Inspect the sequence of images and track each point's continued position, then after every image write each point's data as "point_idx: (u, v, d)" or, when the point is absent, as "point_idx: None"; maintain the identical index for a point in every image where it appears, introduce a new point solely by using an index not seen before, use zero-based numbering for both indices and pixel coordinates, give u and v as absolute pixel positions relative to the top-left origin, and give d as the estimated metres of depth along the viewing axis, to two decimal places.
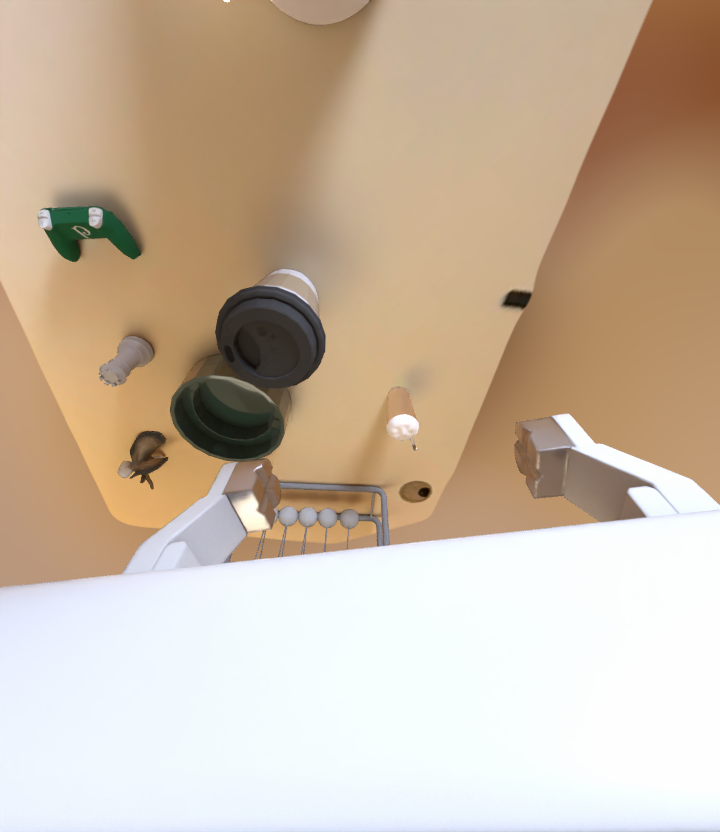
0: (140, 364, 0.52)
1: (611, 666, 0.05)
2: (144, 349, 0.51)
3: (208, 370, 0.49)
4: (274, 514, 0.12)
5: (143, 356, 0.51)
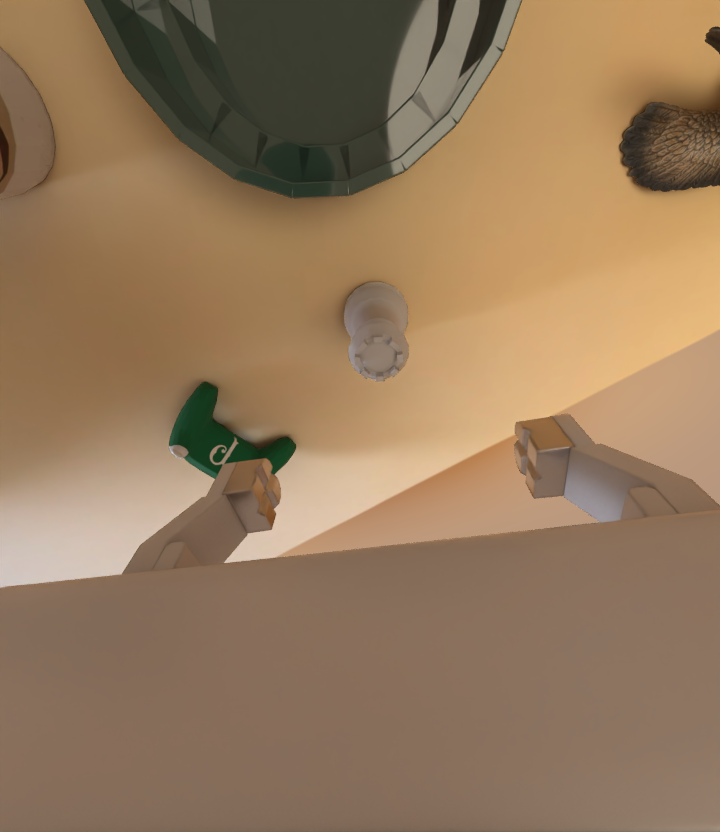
0: (377, 301, 0.23)
1: (610, 665, 0.05)
2: (348, 308, 0.24)
3: None
4: (274, 514, 0.12)
5: (358, 304, 0.23)
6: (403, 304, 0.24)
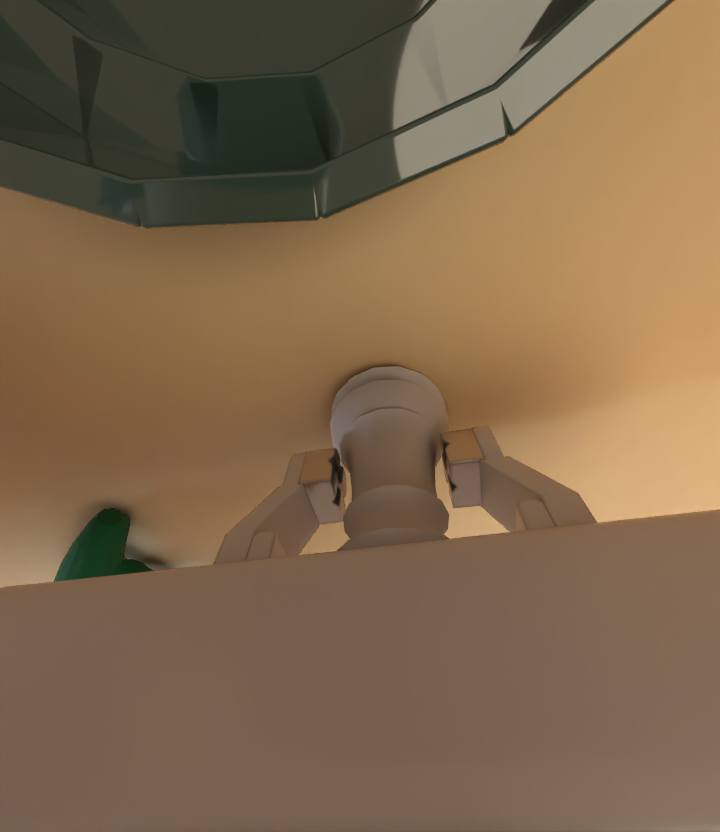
0: (393, 416, 0.11)
1: (610, 664, 0.05)
2: (336, 417, 0.13)
3: None
4: (344, 505, 0.12)
5: (356, 415, 0.12)
6: (442, 412, 0.12)
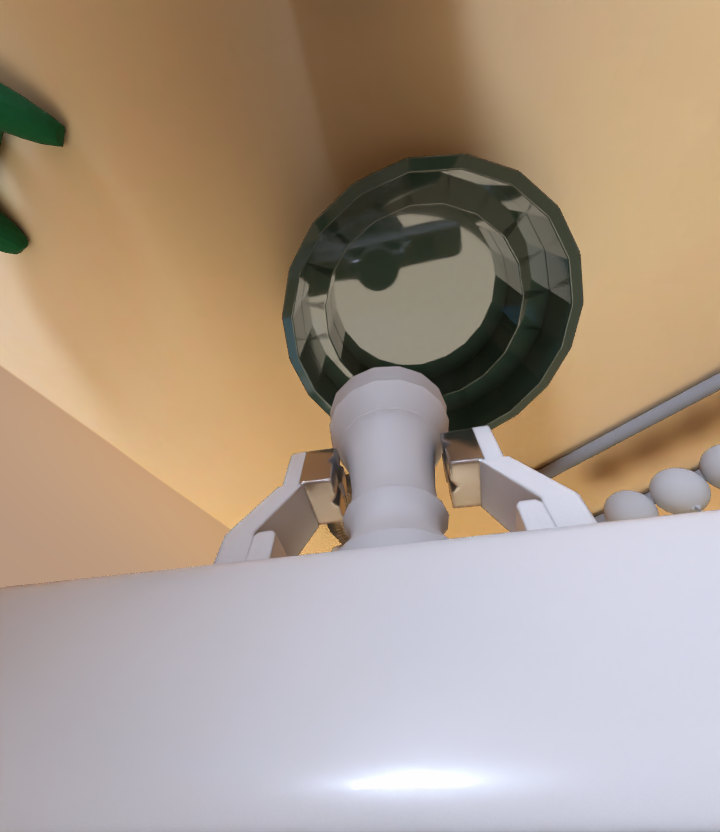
0: (392, 416, 0.11)
1: (611, 665, 0.05)
2: (336, 417, 0.13)
3: None
4: (344, 505, 0.12)
5: (355, 415, 0.12)
6: (442, 412, 0.12)
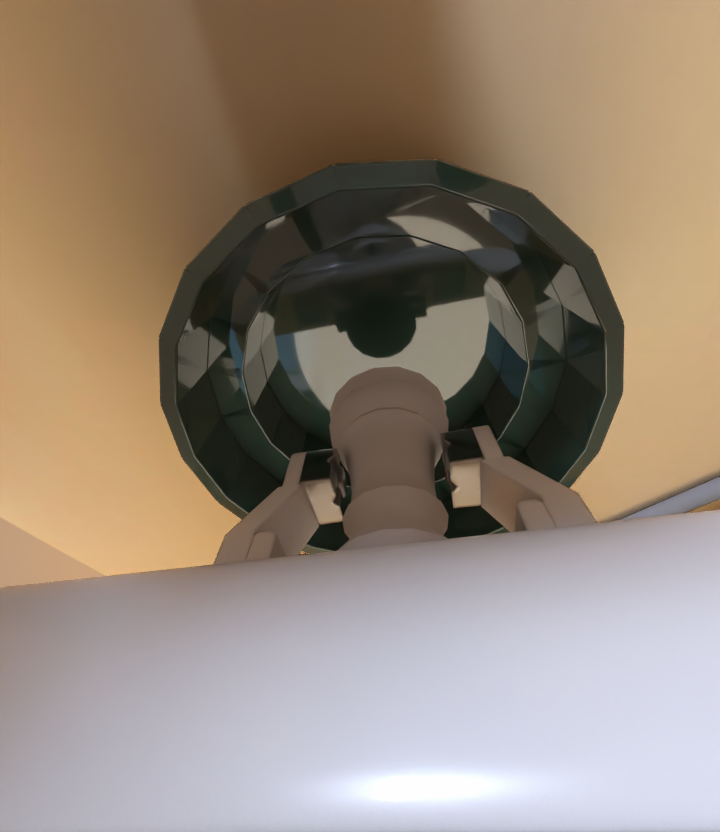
0: (392, 416, 0.11)
1: (611, 665, 0.05)
2: (336, 418, 0.13)
3: None
4: (344, 505, 0.12)
5: (355, 415, 0.12)
6: (441, 412, 0.12)
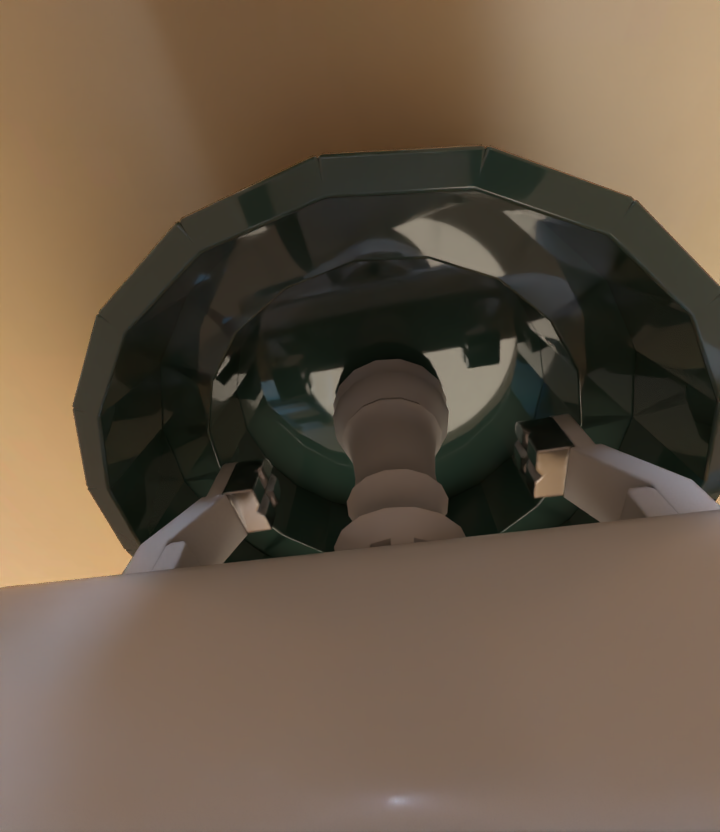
0: (394, 406, 0.12)
1: (610, 664, 0.05)
2: (339, 409, 0.13)
3: None
4: (274, 514, 0.12)
5: (358, 406, 0.12)
6: (441, 403, 0.13)
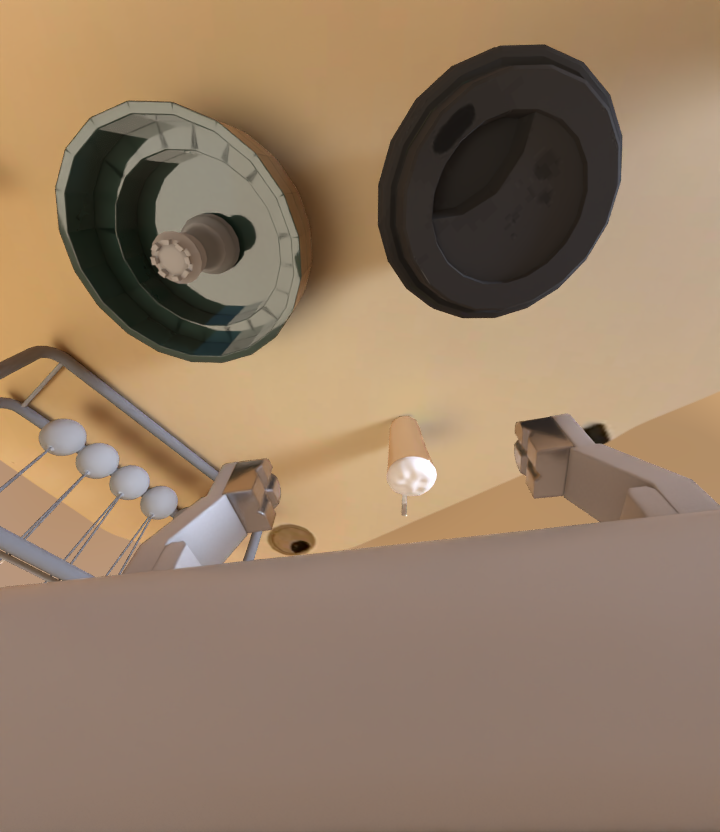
0: (222, 249, 0.28)
1: (610, 665, 0.05)
2: (213, 220, 0.28)
3: (247, 142, 0.23)
4: (274, 514, 0.12)
5: (218, 231, 0.28)
6: (223, 270, 0.30)
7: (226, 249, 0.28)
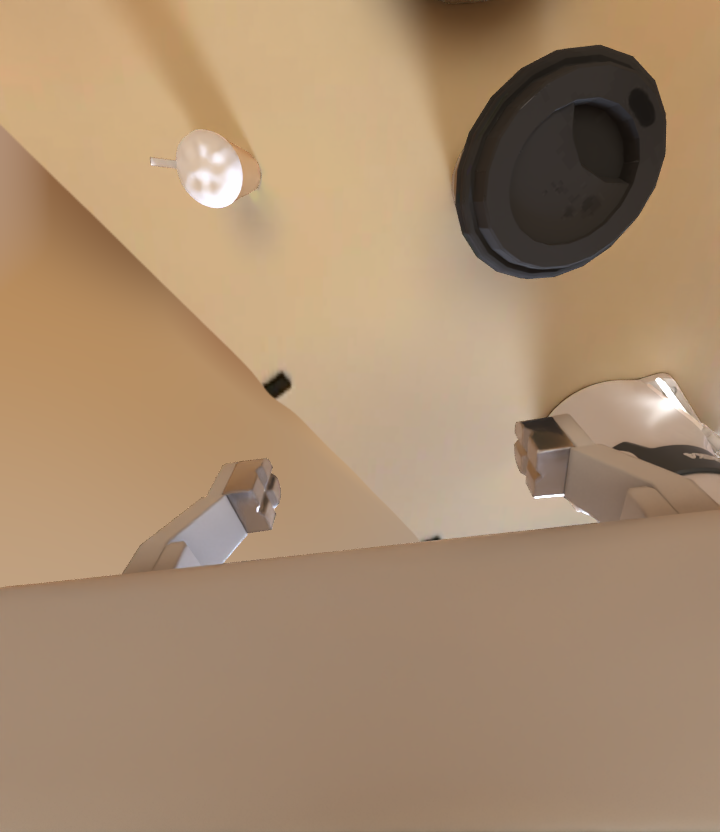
0: None
1: (611, 664, 0.05)
2: None
3: None
4: (274, 514, 0.12)
5: None
6: None
7: None
